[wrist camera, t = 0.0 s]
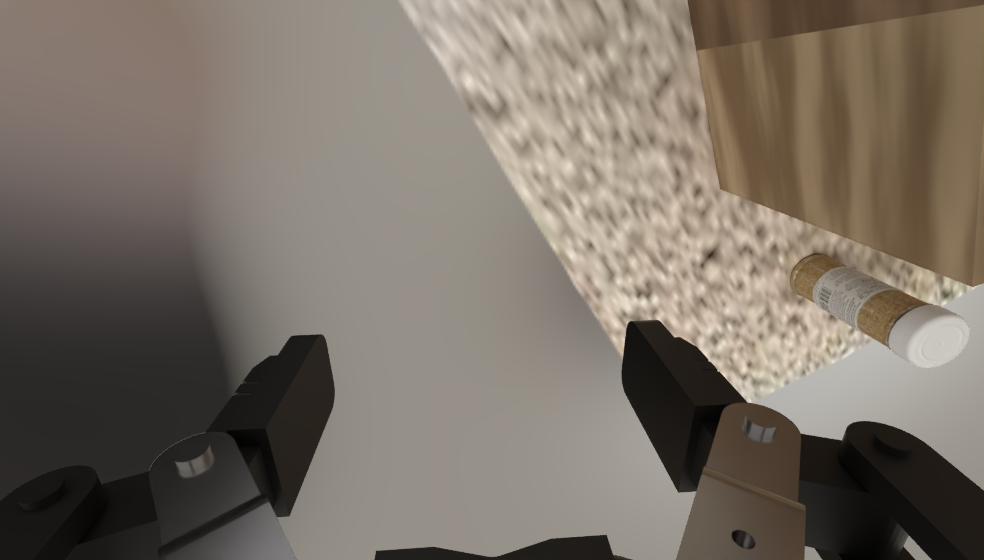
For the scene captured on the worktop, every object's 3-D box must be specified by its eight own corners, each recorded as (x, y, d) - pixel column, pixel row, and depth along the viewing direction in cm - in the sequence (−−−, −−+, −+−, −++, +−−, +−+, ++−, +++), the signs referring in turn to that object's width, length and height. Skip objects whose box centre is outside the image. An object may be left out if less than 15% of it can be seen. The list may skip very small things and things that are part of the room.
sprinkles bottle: (824, 294, 46) (957, 370, 34) (782, 294, 46) (900, 371, 33) (839, 252, 44) (985, 315, 32) (794, 252, 44) (925, 316, 32)
